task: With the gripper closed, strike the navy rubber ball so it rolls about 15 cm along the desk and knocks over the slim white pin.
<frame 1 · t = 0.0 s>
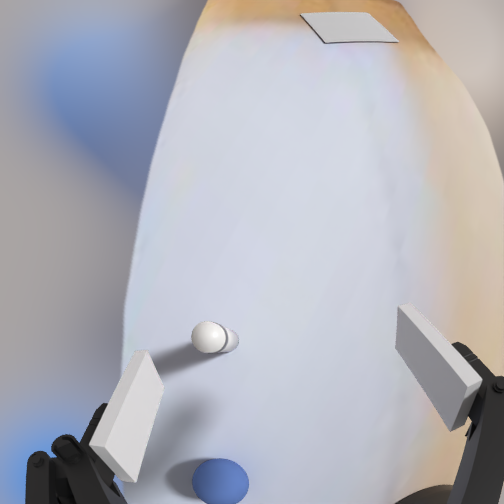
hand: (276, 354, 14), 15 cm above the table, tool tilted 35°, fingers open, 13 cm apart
paper stack: (340, 39, 45), on the table
ball: (220, 483, 22), on the table
pin: (227, 340, 30), on the table
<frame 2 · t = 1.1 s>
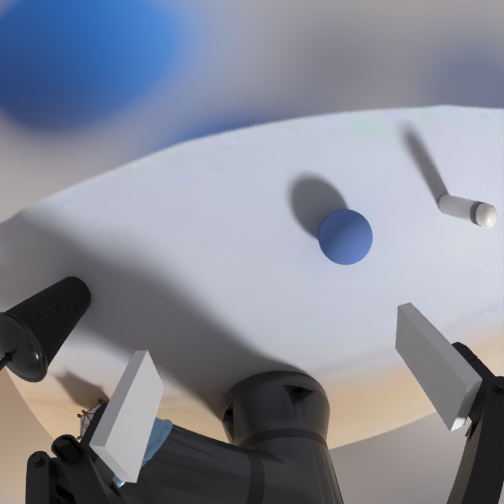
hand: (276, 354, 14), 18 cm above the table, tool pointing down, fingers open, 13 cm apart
drinking cup: (76, 293, 33), on the table
game die: (110, 410, 39), on the table
ball: (345, 237, 29), on the table
pin: (445, 203, 31), on the table
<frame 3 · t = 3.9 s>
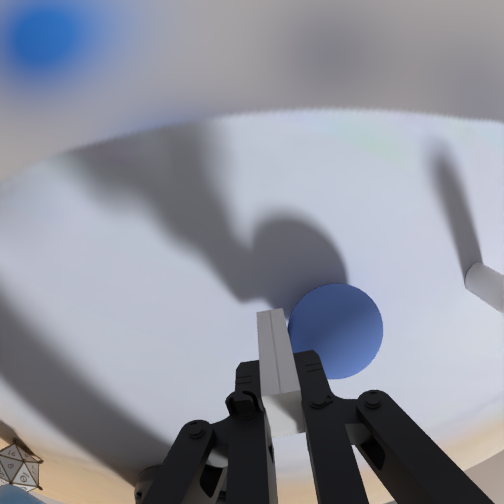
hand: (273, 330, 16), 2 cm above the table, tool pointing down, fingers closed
game die: (27, 450, 25), on the table
ball: (335, 331, 16), on the table, touching gripper
pin: (475, 276, 19), on the table
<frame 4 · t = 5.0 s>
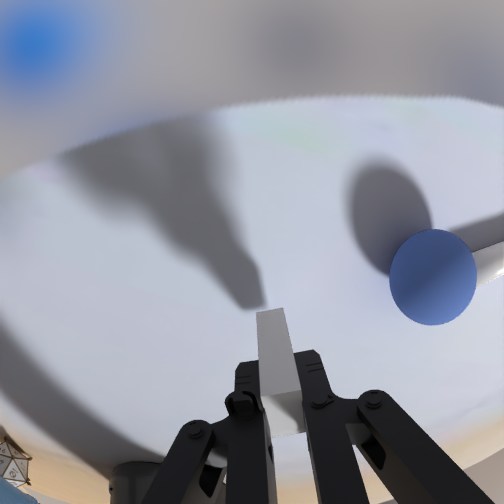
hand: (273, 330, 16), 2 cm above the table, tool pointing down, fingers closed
game die: (18, 448, 26), on the table
ball: (433, 277, 15), on the table
pin: (465, 273, 17), point 1 cm above the table, tilted 90°
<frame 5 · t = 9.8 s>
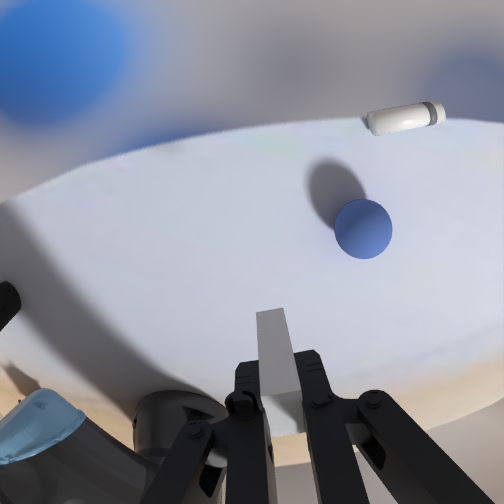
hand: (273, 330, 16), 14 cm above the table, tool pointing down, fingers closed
drinking cup: (10, 296, 31), on the table
ball: (363, 229, 26), on the table
pin: (372, 124, 25), point 1 cm above the table, tilted 90°
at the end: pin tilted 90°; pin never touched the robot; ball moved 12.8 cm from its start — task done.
